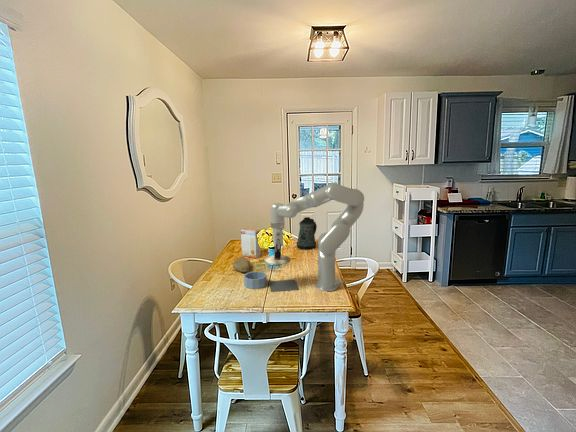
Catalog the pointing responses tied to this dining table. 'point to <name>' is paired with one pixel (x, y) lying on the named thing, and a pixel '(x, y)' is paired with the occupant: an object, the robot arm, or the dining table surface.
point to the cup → (255, 280)
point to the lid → (277, 259)
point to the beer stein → (307, 234)
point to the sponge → (241, 264)
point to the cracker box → (250, 243)
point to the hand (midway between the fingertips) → (277, 256)
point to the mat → (283, 285)
